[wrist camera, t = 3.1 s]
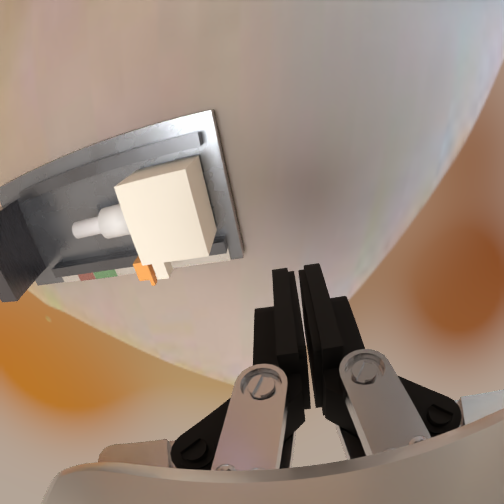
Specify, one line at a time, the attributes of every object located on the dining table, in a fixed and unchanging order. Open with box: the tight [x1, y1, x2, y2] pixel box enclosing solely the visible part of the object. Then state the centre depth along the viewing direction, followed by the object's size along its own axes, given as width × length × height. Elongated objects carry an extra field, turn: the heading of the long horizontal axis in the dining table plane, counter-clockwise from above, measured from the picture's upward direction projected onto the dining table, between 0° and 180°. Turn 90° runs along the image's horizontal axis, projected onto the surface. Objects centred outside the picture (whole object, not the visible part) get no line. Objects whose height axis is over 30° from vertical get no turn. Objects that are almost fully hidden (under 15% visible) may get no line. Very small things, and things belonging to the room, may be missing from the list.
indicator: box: [133, 256, 157, 286], centre depth 23 cm, size 1×3×2 cm, turn 10°
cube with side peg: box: [72, 155, 217, 279], centre depth 21 cm, size 11×8×4 cm
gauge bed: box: [0, 109, 244, 302], centre depth 21 cm, size 24×12×7 cm, turn 100°
